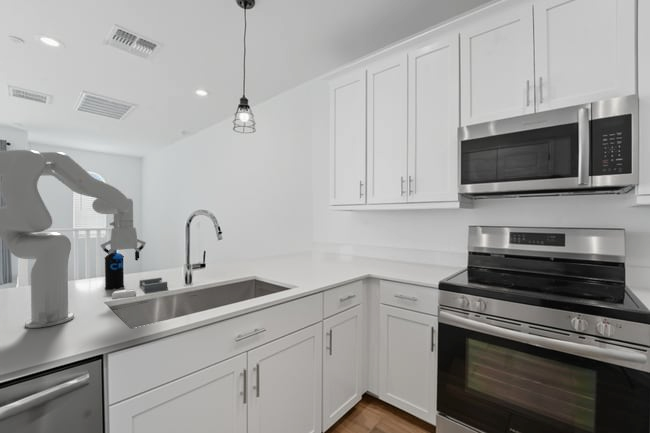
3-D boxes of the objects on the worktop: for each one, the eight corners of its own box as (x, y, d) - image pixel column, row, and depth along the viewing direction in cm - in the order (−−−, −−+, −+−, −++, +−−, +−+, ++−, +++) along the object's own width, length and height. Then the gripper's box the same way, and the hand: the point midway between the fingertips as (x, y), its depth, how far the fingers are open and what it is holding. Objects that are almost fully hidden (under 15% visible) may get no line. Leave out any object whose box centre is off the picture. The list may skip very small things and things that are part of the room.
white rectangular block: (112, 296, 135) (112, 291, 135) (135, 293, 140) (135, 288, 140) (111, 299, 131) (111, 293, 131) (135, 296, 136) (135, 290, 136)
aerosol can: (100, 289, 148) (100, 249, 147) (116, 285, 155) (116, 247, 155) (112, 290, 145) (112, 250, 145) (128, 286, 153) (127, 248, 153)
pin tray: (167, 289, 147) (167, 282, 147) (144, 292, 140) (144, 285, 140) (160, 283, 159) (160, 277, 159) (139, 286, 152) (139, 279, 152)
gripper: (100, 225, 127) (101, 264, 127) (146, 224, 138) (147, 260, 138) (99, 225, 132) (100, 262, 133) (143, 223, 144) (144, 258, 144)
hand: (124, 261), depth 136 cm, fingers open, 9 cm apart
